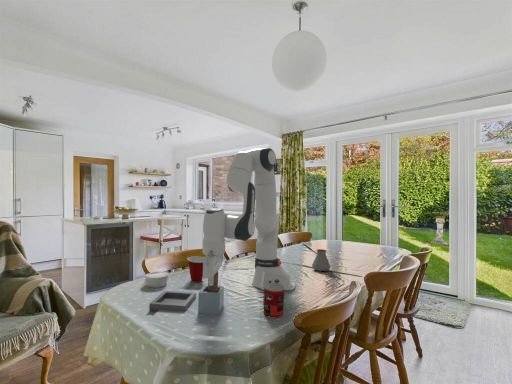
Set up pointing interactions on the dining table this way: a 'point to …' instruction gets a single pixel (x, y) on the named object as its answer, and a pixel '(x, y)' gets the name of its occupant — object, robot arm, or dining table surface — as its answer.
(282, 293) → the canned food
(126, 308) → the dining table surface
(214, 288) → the walnut dowel
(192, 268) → the plastic cup
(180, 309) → the tray
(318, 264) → the coffee pot
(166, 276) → the ramekin
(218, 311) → the grey square bin
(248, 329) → the dining table surface
